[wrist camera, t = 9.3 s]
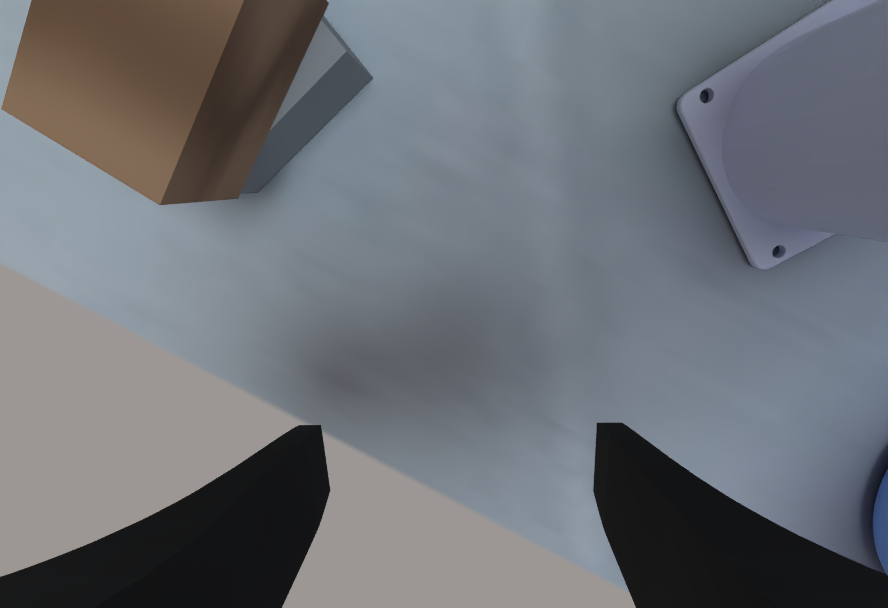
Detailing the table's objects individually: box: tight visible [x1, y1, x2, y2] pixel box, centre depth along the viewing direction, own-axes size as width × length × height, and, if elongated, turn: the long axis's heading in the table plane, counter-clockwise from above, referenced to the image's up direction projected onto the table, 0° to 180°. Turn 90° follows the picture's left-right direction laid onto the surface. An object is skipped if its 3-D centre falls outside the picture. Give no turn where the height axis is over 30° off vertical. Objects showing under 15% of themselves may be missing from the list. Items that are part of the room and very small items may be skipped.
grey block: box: [240, 16, 373, 194], centre depth 16 cm, size 7×4×4 cm, turn 130°
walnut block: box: [2, 0, 329, 205], centre depth 12 cm, size 7×4×4 cm, turn 148°
